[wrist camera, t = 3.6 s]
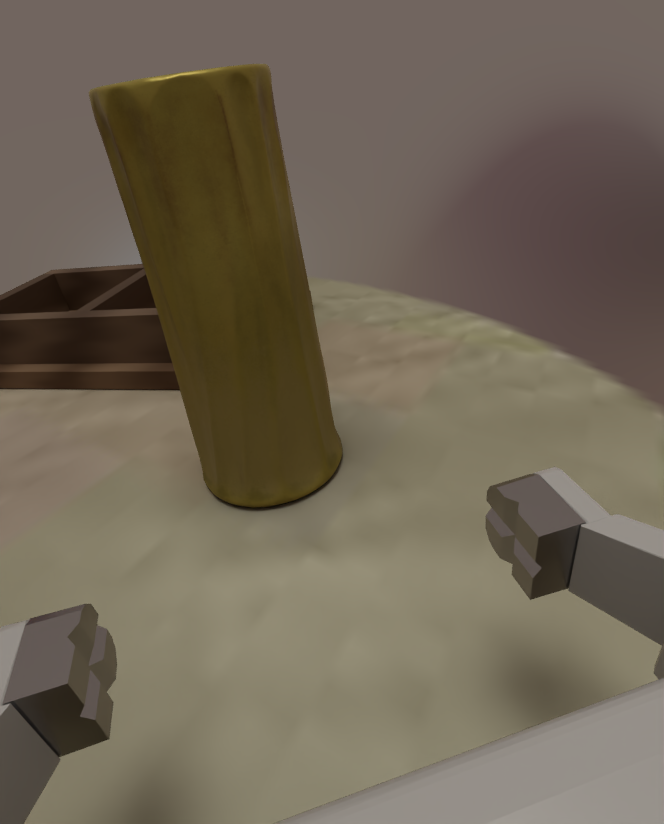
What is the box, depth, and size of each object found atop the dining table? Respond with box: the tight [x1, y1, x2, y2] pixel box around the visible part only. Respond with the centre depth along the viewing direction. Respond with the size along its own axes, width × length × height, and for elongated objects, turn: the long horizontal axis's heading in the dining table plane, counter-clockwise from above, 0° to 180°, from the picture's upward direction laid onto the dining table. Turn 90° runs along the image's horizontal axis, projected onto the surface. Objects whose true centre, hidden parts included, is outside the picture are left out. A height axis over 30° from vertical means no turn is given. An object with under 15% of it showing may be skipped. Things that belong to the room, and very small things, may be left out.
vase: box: [89, 64, 342, 507], centre depth 19 cm, size 6×6×14 cm
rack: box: [0, 264, 313, 390], centre depth 34 cm, size 22×12×4 cm, turn 77°
